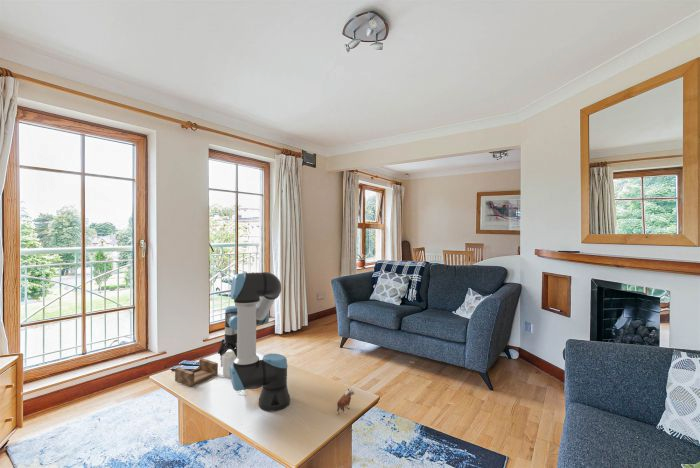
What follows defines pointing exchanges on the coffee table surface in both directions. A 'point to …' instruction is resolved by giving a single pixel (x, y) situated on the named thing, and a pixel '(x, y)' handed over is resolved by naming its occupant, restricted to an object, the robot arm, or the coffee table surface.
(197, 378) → the wooden tray
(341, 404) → the bull figurine
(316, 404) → the coffee table surface
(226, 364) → the candle holder
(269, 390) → the robot arm
